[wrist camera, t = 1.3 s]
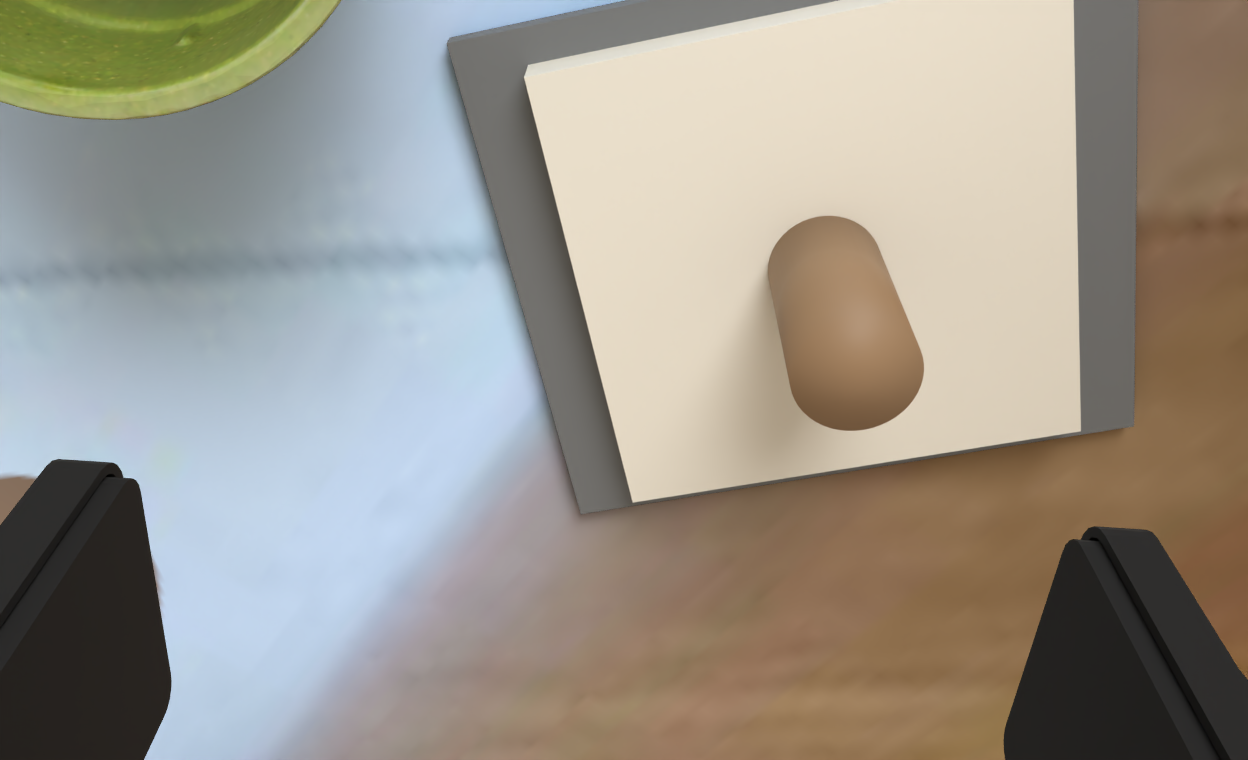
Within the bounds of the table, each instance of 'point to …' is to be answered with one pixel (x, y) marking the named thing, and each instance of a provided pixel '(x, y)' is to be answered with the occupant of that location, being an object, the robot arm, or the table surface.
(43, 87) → the plant pot
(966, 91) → the lid
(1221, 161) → the table surface
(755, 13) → the mat
